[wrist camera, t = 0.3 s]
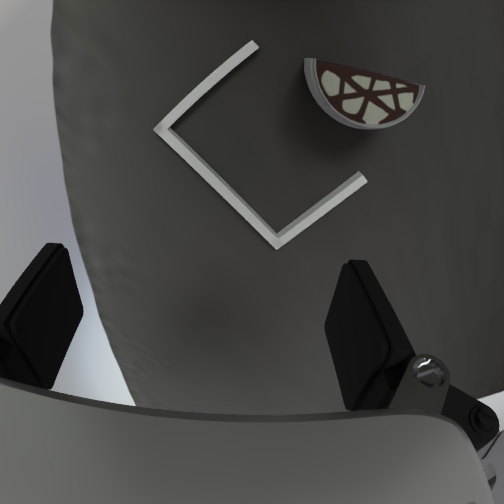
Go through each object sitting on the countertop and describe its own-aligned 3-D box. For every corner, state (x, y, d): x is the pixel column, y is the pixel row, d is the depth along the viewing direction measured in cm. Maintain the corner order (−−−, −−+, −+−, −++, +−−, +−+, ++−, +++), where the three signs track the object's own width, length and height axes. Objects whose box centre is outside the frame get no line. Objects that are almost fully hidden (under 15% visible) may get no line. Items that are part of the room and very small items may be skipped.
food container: (285, 108, 35) (300, 123, 27) (290, 59, 32) (309, 57, 24) (380, 124, 36) (418, 144, 28) (387, 78, 33) (429, 87, 25)
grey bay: (251, 41, 31) (252, 40, 29) (363, 177, 40) (367, 181, 39) (156, 127, 36) (153, 129, 34) (275, 244, 45) (276, 249, 44)
